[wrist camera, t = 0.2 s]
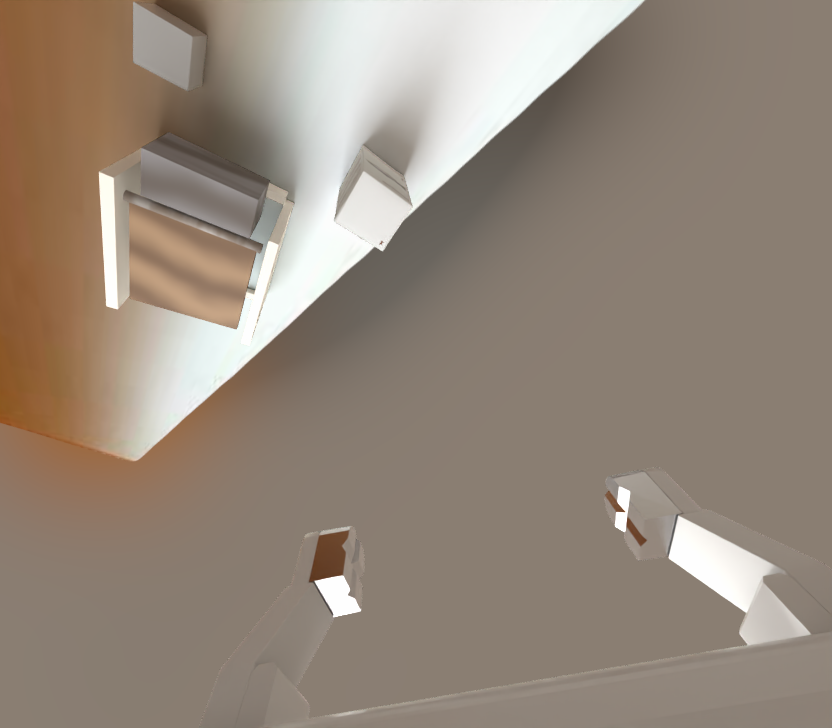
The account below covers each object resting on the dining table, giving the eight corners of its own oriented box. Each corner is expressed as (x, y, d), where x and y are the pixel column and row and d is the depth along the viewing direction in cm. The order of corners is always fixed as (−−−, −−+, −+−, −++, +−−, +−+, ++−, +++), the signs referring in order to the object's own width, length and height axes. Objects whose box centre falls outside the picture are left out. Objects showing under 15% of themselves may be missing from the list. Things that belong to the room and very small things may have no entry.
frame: (157, 129, 43) (98, 159, 34) (296, 195, 51) (281, 236, 41) (151, 261, 55) (106, 312, 45) (265, 299, 62) (247, 350, 53)
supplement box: (405, 175, 51) (415, 207, 42) (378, 217, 54) (382, 254, 46) (362, 141, 47) (363, 168, 38) (337, 188, 51) (332, 223, 42)
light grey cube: (155, 3, 36) (133, 1, 33) (207, 35, 38) (192, 36, 35) (153, 59, 39) (133, 62, 35) (202, 85, 41) (187, 91, 38)
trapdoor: (153, 124, 38) (122, 139, 33) (281, 186, 44) (271, 206, 39) (148, 270, 49) (124, 297, 44) (250, 303, 55) (239, 330, 50)
